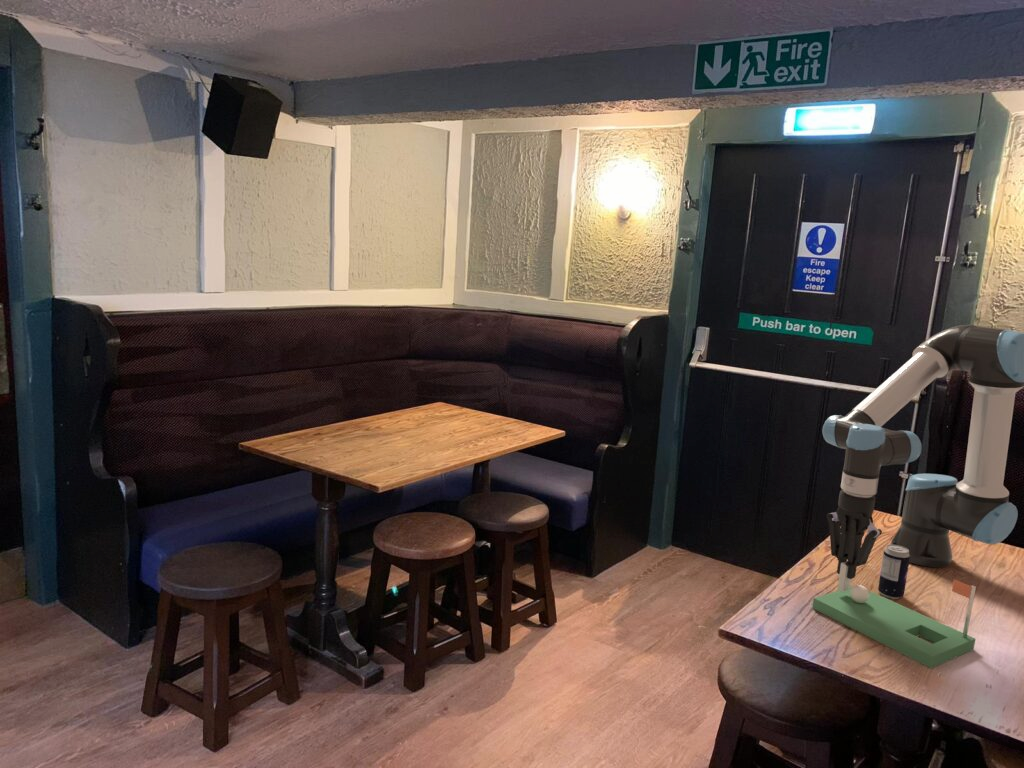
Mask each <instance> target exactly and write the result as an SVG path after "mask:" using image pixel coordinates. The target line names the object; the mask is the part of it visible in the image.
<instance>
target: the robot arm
mask: <svg viewBox="0 0 1024 768" xmlns="http://www.w3.org/2000/svg"><path fill="white" fill-rule="evenodd" d="M911 354H912V356H911V358H910V359H908V360H907V361H906V362H905V363H903V365H901V366H900V367H899V368H898V369H897V370H896V371H895V372H893V373H892V374H891V375H890V376H889V377H888V378H886V380H884V381H883V382H882V383H881V384H880V385H879V386H877V387H876V388H875V389H874V390H873V391H871V393H869V395H868V396H866V397H865V398H864V399H863V400H862V401H861V402H859V403H858V404H857V405H855V407H853V408H852V410H851V411H849V412H848V413H847V414H846V415H845V416H844V415H841V414H840V415H839V414H838V415H837V414H834V415H830V416H829V417H827V419H826V420H825V421H824V424H823V426H822V429H821V430H822V436H823V439H824V440H825V442H826V443H827V444H830V445H832V446H835V447H837V448H839V449H842V450H843V449H844V450H845V455H844V465H843V469H842V474H841V483H840V488H841V490H840V491H839V496H838V503H837V504H838V508H836V511H833V512H829V513H826V519H827V522H828V529H829V540H830V553H831V556H832V557H835V558H836V559H837V570H836V574H837V575H838V582H837V591H839V590H840V591H847V590H850V587H852V581H853V580H852V579H855V578H856V574H857V568H858V567H860V566H864V565H866V564H867V561H868V559H869V557H870V555H871V553H872V550H873V547H874V546H875V542H876V540H877V538H878V537H879V536H881V535H882V534H883V532H882V529H880V528H877V527H876V526H875V525H874V520H873V514H874V510H875V505H876V499H877V498H876V496H875V495H877V493H878V486H879V478H880V471H881V467H882V466H883V467H885V466H893V465H894V466H895V465H905V464H907V463H912V462H914V461H916V460H918V458H919V457H920V456H921V454H922V442H921V440H920V438H919V436H918V435H917V434H915V433H914V432H913V431H909V430H902V429H901V430H900V429H899V430H891V429H888V428H884V427H883V426H884V425H885V424H886V423H887V422H888V421H890V419H891V418H893V417H894V416H895V415H897V413H898V412H899V411H900V410H901V409H903V408H904V407H905V406H906V405H907V404H908V403H909V402H911V401H912V400H913V399H914V398H915V397H916V396H918V395H919V393H921V392H922V391H923V390H924V389H925V388H926V387H928V385H930V384H931V383H932V382H933V381H934V380H935V379H939V378H944V377H945V376H946V375H947V374H948V373H950V372H953V371H962V372H967V373H968V383H969V384H970V385H971V386H972V388H973V389H974V392H973V400H972V408H971V418H970V425H969V432H968V440H967V442H968V443H967V450H966V457H965V463H964V474H963V479H962V480H960V481H958V478H957V477H954V476H951V475H946V474H938V473H916V474H913V475H911V476H909V478H908V480H907V485H906V488H905V495H904V496H905V497H904V503H903V509H902V515H901V521H900V525H899V527H898V529H897V531H896V533H895V534H894V536H893V537H892V539H891V542H890V545H899V546H902V547H905V548H907V549H908V550H909V555H910V560H909V564H914V565H918V566H922V567H927V568H945V567H949V566H950V565H952V559H953V552H952V546H951V542H950V536H949V535H950V531H951V532H954V533H956V534H958V535H960V536H963V537H966V538H969V539H971V540H973V541H974V542H980V543H982V544H985V545H991V546H993V545H997V544H1000V543H1001V542H1004V540H1005V539H1006V538H1007V537H1009V535H1010V534H1011V533H1012V531H1013V530H1014V528H1015V525H1016V523H1017V520H1018V514H1019V513H1018V512H1019V511H1018V508H1017V506H1016V505H1014V504H1013V503H1012V502H1009V498H1010V497H1009V496H1010V491H1009V490H1008V489H1007V487H1005V485H1004V480H1005V472H1006V466H1007V460H1008V452H1009V451H1008V450H1009V445H1010V435H1011V429H1012V421H1013V414H1014V406H1015V400H1016V399H1015V398H1016V394H1017V393H1018V392H1019V391H1020V390H1022V389H1023V388H1024V332H1020V331H1018V330H1017V331H1016V330H1013V329H1008V328H998V327H997V328H996V327H988V326H981V325H979V326H978V325H974V324H961V325H955V326H951V327H949V328H947V329H944V330H941V331H939V332H937V333H935V334H934V335H932V336H930V337H928V338H927V339H926V340H925V341H923V342H922V343H920V344H919V345H918V346H917V347H916V348H915V349H913V351H912V353H911ZM866 530H867V531H866ZM865 532H866V535H865ZM864 535H865V537H864ZM863 537H864V540H863Z"/></svg>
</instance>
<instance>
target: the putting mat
mask: <svg viewBox="0 0 1024 768" xmlns="http://www.w3.org/2000/svg"><path fill="white" fill-rule="evenodd" d="M856 585H857V584H855V585H851V587H850V590H847V591H840V590H836V591H833V592H830V593H829V592H828V593H826V594H823V595H819V596H816V597H813V600H812V609H813V610H815V611H817V612H819V613H821V614H823V615H824V616H827V617H829V618H831V619H833V620H834V621H837V622H839V623H840V624H842V625H844V626H847V627H849V628H851V629H852V630H855V631H856V632H858V633H860V634H863V635H864V636H866V637H868V638H871V639H872V640H874V641H876V642H879V643H880V644H882V645H884V646H887V647H888V648H890V649H893V650H894V651H896V652H899V653H900V654H902V655H904V656H905V657H908V658H910V659H911V660H913V661H916V662H917V663H920V664H922V665H923V666H926V667H928V668H930V669H932V668H935V667H937V666H939V665H941V664H944V663H946V662H948V661H951V660H953V659H955V658H957V657H960V656H962V655H964V654H967V653H969V652H971V651H974V649H975V644H976V638H975V637H973V636H970V635H969V634H967V638H964V637H962V636H963V631H960V630H958V629H956V628H953V627H952V626H951V627H950V626H948V625H946V624H944V623H942V622H939V621H937V620H935V619H933V618H930V617H928V616H926V615H924V614H921V613H919V612H917V611H916V610H913V609H911V608H910V607H909V608H908V607H906V606H905V605H902V604H901V603H900V604H899V603H897V602H895V601H893V600H891V599H890V598H887V597H885V596H883V595H880V594H878V593H875V592H873V591H871V590H869V589H868V591H869V599H868V600H867V601H866V602H864V603H857V602H855V601H854V600H853V599H852V598H851V595H850V591H851V589H852V588H853V587H854V586H856ZM921 637H922V638H921ZM923 638H924V639H923ZM925 639H926V640H925ZM927 640H928V641H927ZM929 641H930V642H929ZM931 642H932V643H931Z"/></svg>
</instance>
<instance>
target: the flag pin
mask: <svg viewBox="0 0 1024 768" xmlns="http://www.w3.org/2000/svg"><path fill="white" fill-rule="evenodd" d="M951 587H952V589H951V591H952V592H953V593H954V594H957V595H959V596H963V597H965V598H967V599H968V603H967V609H966V615H965V620H964V626H963V631H962V633H963V636H962V637H964V638H967V635H968V632H969V626H970V621H971V618H972V617H971V616H972V611H973V604H974V600H975V595H976V594H975V593H976V588H977V586H975V585H970V584H968V583H965V582H963V581H960V580H958V579H953V581H952V586H951Z"/></svg>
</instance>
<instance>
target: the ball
mask: <svg viewBox="0 0 1024 768" xmlns="http://www.w3.org/2000/svg"><path fill="white" fill-rule="evenodd" d="M855 585H856V586H855ZM855 585H853V586H854V587H853V588H852V589H851V591H850V595H851V598H852V599H853V600H854V601H855V602H857V603H864V602H866V601H867V600H868V599H869V591H870V590H869V589H868V588H867V587H866V586H865V585H861V584H855ZM868 590H869V591H868Z"/></svg>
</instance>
